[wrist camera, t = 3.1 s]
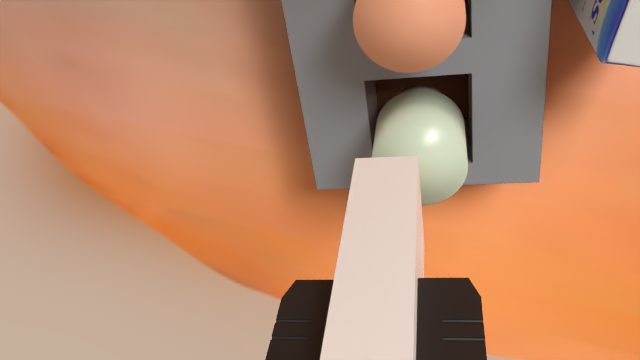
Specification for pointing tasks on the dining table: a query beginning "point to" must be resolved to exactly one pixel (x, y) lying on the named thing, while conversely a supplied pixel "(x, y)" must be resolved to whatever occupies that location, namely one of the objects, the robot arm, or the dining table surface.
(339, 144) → the grey slotted tray
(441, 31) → the peach egg
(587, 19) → the medicine box
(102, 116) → the dining table surface
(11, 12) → the dining table surface
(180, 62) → the dining table surface
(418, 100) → the pale green egg
